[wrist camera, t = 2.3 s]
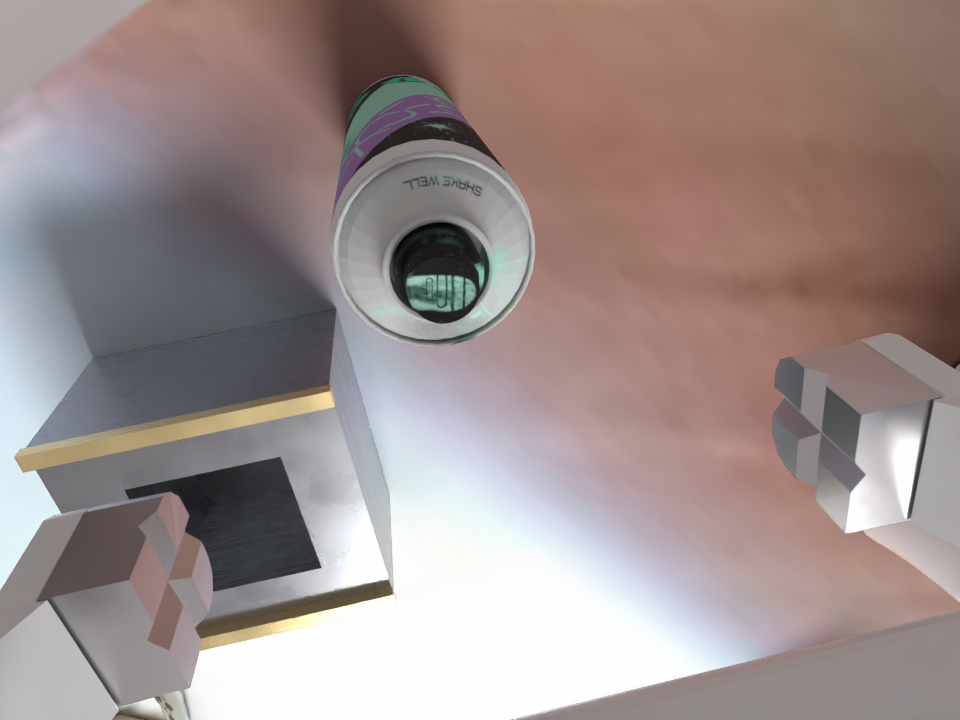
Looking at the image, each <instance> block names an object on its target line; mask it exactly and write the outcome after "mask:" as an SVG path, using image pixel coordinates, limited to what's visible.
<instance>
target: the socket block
mask: <svg viewBox="0 0 960 720" xmlns="http://www.w3.org/2000/svg"><path fill="white" fill-rule="evenodd" d="M14 458H15V460H16V461H17V463H18V465H19V466H20V468H21V470H22V471H23V473H24V472H28V471H33V470H36V471H37V473H38V475H39V476H40V478H41V480H42V481H43V483H44V485H45V486H46V488H47V490H48V492H49V493H50V495H51V497H52V498H53V500H54V502H55V503H56V505H57V507H58V508H59V510H60V512H61V513H62V514H63V513H67V512H71V511H76V510H80V509H85V508H93V507H95V506H100V505H105V504H110V503H115V502H120V501H126V500H131V499H136V498H141V497H146V496H151V495H156V494H161V493H166V492H172V493H174V494H176V495H178V496H179V497H180V499H181V501H182V503H183V505H184V507H185V508H186V510H187V512H188V514H189V518H188V522H187V525H186V528H185V531H184V532H186V533H188V534H189V535H191V536H193V537H195V538H196V539H198V540H200V541H202V543H203V546H204V548H205V550H206V552H207V554H208V557H209V561H210V565H211V569H212V576H213V597H212V601H211V606H210V610H209V613H208V614H207V616H206V617H205V618H204V619H203V620H202V621H201V622H200V623H199V624H198V625H197V626H196V627H195V629H196V631H197V633H198V635H199V637H200V639H201V641H202V643H201V647H200V651H201V650H205V649H210V648H214V647H218V646H223V645H227V644H232V643H236V642H240V641H245V640H249V639H254V638H258V637H263V636H267V635H271V634H276V633H280V632H285V631H289V630H293V629H298V628H302V627H307V626H311V625H316V624H320V623H324V622H329V621H333V620H338V619H342V618H346V617H351V616H355V615H360V614H364V613H369V612H373V611H377V610H382V609H386V608H391V607H395V606H397V602H396V595H395V591H394V585H393V563H392V540H391V517H390V495H389V491H388V488H387V484H386V481H385V477H384V474H383V470H382V467H381V463H380V460H379V456H378V453H377V449H376V446H375V442H374V439H373V435H372V432H371V428H370V425H369V421H368V418H367V414H366V411H365V407H364V404H363V400H362V397H361V393H360V390H359V386H358V383H357V379H356V376H355V372H354V369H353V365H352V362H351V358H350V355H349V351H348V348H347V344H346V341H345V337H344V334H343V330H342V326H341V323H340V319H339V316H338V312H337V309H335V310H330V311H325V312H321V313H316V314H311V315H306V316H301V317H296V318H291V319H286V320H281V321H276V322H271V323H266V324H261V325H256V326H251V327H247V328H242V329H237V330H232V331H227V332H222V333H217V334H212V335H207V336H202V337H197V338H192V339H187V340H182V341H178V342H173V343H168V344H163V345H158V346H153V347H148V348H143V349H138V350H133V351H128V352H123V353H118V354H113V355H108V356H104V357H99V358H94V359H92V361H91V362H90V363H89V365H88V366H87V367H86V369H85V370H84V371H83V373H82V374H81V375H80V377H79V378H78V379H77V381H76V382H75V383H74V384H73V386H72V387H71V388H70V390H69V391H68V392H67V394H66V395H65V396H64V398H63V399H62V400H61V402H60V403H59V404H58V406H57V407H56V408H55V410H54V411H53V412H52V414H51V415H50V416H49V418H48V419H47V420H46V422H45V423H44V424H43V426H42V427H41V428H40V430H39V431H38V432H37V434H36V435H35V436H34V438H33V439H32V440H31V442H30V443H29V444H28V446H27V447H26V448H23V449H20V450H19V452H18V453H17V454H16V455H15V457H14Z"/></svg>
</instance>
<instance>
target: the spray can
mask: <svg viewBox="0 0 960 720" xmlns="http://www.w3.org/2000/svg"><path fill="white" fill-rule="evenodd" d="M330 250H331V256H332V262H333V267H334V270H335V274H336V278H337V280H338V283H339V285H340V288H341V290H342V293H343V295H344V296H345V298H346V299H347V301H348V303H349V304H350V306H351V307H352V309H353V310H354V311H355V312H356V313H357V314H358V315H359V316H360V317H361V318H362V319H363V320H364V321H365V322H366V323H367V324H368V325H370V326H371V327H373V328H374V329H376V330H377V331H379V332H380V333H381V334H383V335H386V336H388V337H390V338H393V339H395V340H397V341H400V342H404V343H408V344H412V345H417V346H433V347H437V346H445V345H453V344H457V343H460V342H464V341H467V340H470V339H473V338H475V337H477V336H479V335H481V334H483V333H485V332H487V331H488V330H490V329H491V328H492V327H494V326H495V325H496V324H498V323H499V322H500V321H502V320H503V319H504V318H505V317H506V316H507V315H508V313H509V312H510V311H511V310H512V309H513V308H514V307H515V306H516V304H517V303H518V301H519V299H520V298H521V296H522V295H523V293H524V291H525V290H526V287H527V284H528V282H529V279H530V277H531V274H532V270H533V264H534V258H535V235H534V231H533V227H532V222H531V218H530V214H529V210H528V207H527V204H526V202H525V200H524V198H523V196H522V194H521V191H520V189H519V188H518V187H517V185H516V184H515V183H514V181H513V180H512V179H511V177H510V176H509V175H508V173H507V172H506V171H505V169H504V168H503V167H502V166H501V164H500V163H499V162H498V160H497V159H496V158H495V157H494V155H493V154H492V153H491V151H490V150H489V149H488V148H487V146H486V145H485V144H484V142H483V141H482V140H481V139H480V137H479V136H478V135H477V133H476V132H475V131H474V129H473V128H472V127H471V126H470V124H469V123H468V122H467V120H466V119H465V118H464V117H463V115H462V114H461V113H460V111H459V110H458V109H457V108H456V106H455V105H454V104H453V102H452V101H451V100H450V99H449V97H448V96H447V95H446V94H445V93H444V92H443V91H442V90H441V89H440V88H439V87H438V86H436V85H434V84H433V83H431V82H429V81H428V80H426V79H423V78H420V77H417V76H412V75H404V74H403V75H392V76H389V77H385V78H382V79H380V80H378V81H376V82H375V83H373V84H371V85H370V86H369V87H368V88H367V89H365V90H364V91H363V92H362V93H361V95H360V96H359V97H358V99H357V100H356V102H355V103H354V106H353V108H352V110H351V112H350V115H349V119H348V123H347V129H346V136H345V142H344V148H343V154H342V160H341V167H340V173H339V179H338V185H337V192H336V198H335V204H334V210H333V216H332V223H331V233H330Z"/></svg>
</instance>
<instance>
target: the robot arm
mask: <svg viewBox="0 0 960 720" xmlns="http://www.w3.org/2000/svg"><path fill="white" fill-rule="evenodd" d="M775 387H776V389H777V390H778V391H779V392H780V393H781V394H782V395H783V396H784V399H783V400H782V402H781V403H780V405H779V406H778V407H777V409H776V410H775V412H774V413H773V437H774V441H775V445H776V448H777V452H778V454H779V456H780V458H781V460H782V462H783V463H784V465H785V467H786V468H787V469H788V470H789V471H790V472H791V474H792V475H793V476H794V477H795V478H796V479H799V480H801V481H804V482H806V483H809V484H811V485H814V486H816V491H815V500H816V502H817V503H818V504H819V505H820V506H821V507H822V508H823V509H824V510H825V511H826V512H827V514H828V515H829V516H830V517H831V518H832V519H833V520H834V521H835V522H836V523H837V524H838V526H839V527H840V528H841V529H842V530H843V531H844V532H845V533H849V532H854V531H859V530H863V532H864V533H865V534H866V535H867V536H868V537H870V538H871V539H873V540H874V541H876V542H878V543H879V544H881V545H883V546H885V547H886V548H888V549H889V550H891V551H893V552H894V553H896V554H897V555H899V556H900V557H902V558H903V559H905V560H906V561H908V562H909V563H910V564H912V565H913V566H914V567H916V568H917V569H918V570H920V571H921V572H922V573H924V574H925V575H926V576H928V577H929V578H930V579H931V580H933V581H934V582H935V583H937V584H938V585H939V586H940V587H941V588H943V589H944V590H945V591H946V592H948V593H949V594H950V595H951V596H953V597H954V598H955V599H956V600H957V601H959V602H960V364H959V365H958V366H957V367H956V368H955V369H954V368H952V367H950V366H949V365H947V364H946V363H944V362H942V361H941V360H939V359H938V358H936V357H934V356H933V355H931V354H930V353H928V352H926V351H925V350H923V349H921V348H920V347H918V346H917V345H915V344H913V343H912V342H910V341H909V340H907V339H905V338H904V337H902V336H900V335H898V334H892V333H884V334H880V335H876V336H872V337H868V338H864V339H861V340H857V341H853V342H851V343H847V344H843V345H839V346H834V347H830V348H826V349H822V350H818V351H813V352H809V353H805V354H801V355H797V356H792V357H788V358H784V359H780V362H779V364H778V366H777V369H776V375H775ZM188 518H189V514H188V512H187V510H186V508H185V507H184V505H183V503H182V501H181V499H180V497H179V496H178V495H176V494H174V493H172V492H166V493H161V494H156V495H151V496H146V497H141V498H136V499H131V500H126V501H120V502H115V503H110V504H105V505H100V506H95V507H93V508H85V509H80V510H76V511H71V512H67V513H63V514H58V515H54V516H52V517H50V518H48V519H46V520H44V521H43V522H42V524H41V526H40V527H39V529H38V531H37V532H36V534H35V535H34V537H33V539H32V540H31V542H30V544H29V545H28V547H27V548H26V550H25V552H24V553H23V555H22V556H21V558H20V560H19V561H18V563H17V565H16V566H15V568H14V569H13V571H12V573H11V574H10V576H9V578H8V579H7V581H6V582H5V584H4V586H3V587H2V589H1V590H0V720H112V719H113V718H114V716H115V715H116V714H117V713H118V711H119V708H118V707H119V706H123V705H126V704H130V703H134V702H138V701H142V700H145V699H149V698H153V697H157V696H160V695H164V694H168V693H172V692H176V691H179V690H183V689H187V688H190V686H191V682H192V678H193V674H194V670H195V666H196V662H197V658H198V654H199V651H200V647H201V643H202V641H201V639H200V637H199V635H198V633H197V631H196V629H195V627H196V626H197V625H198V624H199V623H200V622H201V621H202V620H203V619H204V618H205V617H206V616H207V614H208V613H209V610H210V606H211V601H212V597H213V576H212V569H211V565H210V561H209V557H208V554H207V552H206V550H205V548H204V546H203V543H202V541H200V540H198V539H196V538H195V537H193V536H191V535H189V534H188V533H186V532H184V531H185V528H186V525H187V522H188ZM512 720H960V610H958V611H954V612H950V613H946V614H941V615H937V616H933V617H929V618H925V619H921V620H917V621H913V622H909V623H905V624H900V625H896V626H892V627H888V628H884V629H880V630H876V631H872V632H868V633H864V634H859V635H855V636H851V637H847V638H843V639H839V640H835V641H831V642H827V643H823V644H818V645H814V646H810V647H806V648H802V649H798V650H794V651H790V652H786V653H781V654H777V655H773V656H769V657H765V658H761V659H757V660H753V661H749V662H745V663H740V664H736V665H732V666H728V667H724V668H720V669H716V670H712V671H708V672H704V673H699V674H695V675H691V676H687V677H683V678H679V679H675V680H671V681H667V682H663V683H659V684H655V685H650V686H646V687H642V688H638V689H634V690H630V691H626V692H622V693H618V694H614V695H610V696H606V697H602V698H598V699H593V700H589V701H585V702H581V703H577V704H573V705H569V706H565V707H561V708H557V709H553V710H549V711H545V712H540V713H536V714H532V715H528V716H524V717H520V718H516V719H512Z"/></svg>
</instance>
